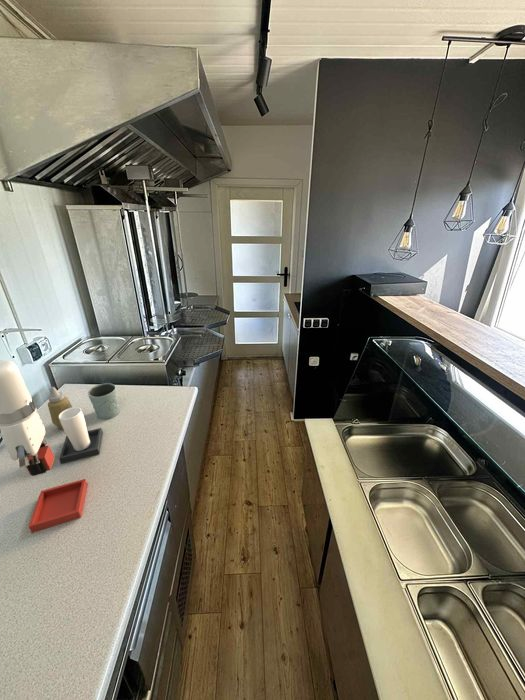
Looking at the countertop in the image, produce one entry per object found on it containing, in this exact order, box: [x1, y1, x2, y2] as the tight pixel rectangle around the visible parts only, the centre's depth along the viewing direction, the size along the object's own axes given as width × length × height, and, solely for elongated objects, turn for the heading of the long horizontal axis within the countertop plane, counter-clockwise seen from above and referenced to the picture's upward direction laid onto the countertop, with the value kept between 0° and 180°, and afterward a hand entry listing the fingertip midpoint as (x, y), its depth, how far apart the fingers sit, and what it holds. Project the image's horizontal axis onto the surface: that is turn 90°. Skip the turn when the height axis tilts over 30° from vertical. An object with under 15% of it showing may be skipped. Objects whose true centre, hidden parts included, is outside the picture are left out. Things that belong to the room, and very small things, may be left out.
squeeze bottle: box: [47, 386, 73, 431], centre depth 110 cm, size 8×8×18 cm
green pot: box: [87, 382, 120, 421], centre depth 118 cm, size 10×10×12 cm
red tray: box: [28, 478, 88, 534], centre depth 82 cm, size 12×12×2 cm
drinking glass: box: [59, 406, 91, 451], centre depth 100 cm, size 7×7×15 cm
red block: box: [25, 445, 55, 476], centre depth 75 cm, size 4×4×4 cm
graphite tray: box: [58, 427, 104, 465], centre depth 103 cm, size 12×12×2 cm
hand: (42, 465), depth 76 cm, fingers closed on red block, 4 cm apart
